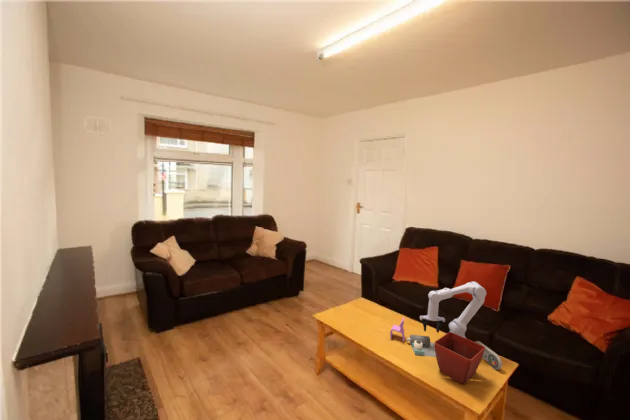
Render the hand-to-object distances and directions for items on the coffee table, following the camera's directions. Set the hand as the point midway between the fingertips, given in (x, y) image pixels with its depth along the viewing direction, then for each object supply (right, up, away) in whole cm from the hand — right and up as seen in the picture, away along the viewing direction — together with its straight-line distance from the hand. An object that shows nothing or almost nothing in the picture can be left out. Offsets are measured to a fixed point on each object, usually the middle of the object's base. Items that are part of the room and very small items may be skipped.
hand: (431, 331), depth 176 cm
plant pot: (+4, -13, -23) cm, 27 cm away
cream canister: (-11, -9, -6) cm, 15 cm away
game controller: (+27, -13, -11) cm, 32 cm away
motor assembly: (-7, -10, -3) cm, 12 cm away
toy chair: (-19, -9, +8) cm, 22 cm away
